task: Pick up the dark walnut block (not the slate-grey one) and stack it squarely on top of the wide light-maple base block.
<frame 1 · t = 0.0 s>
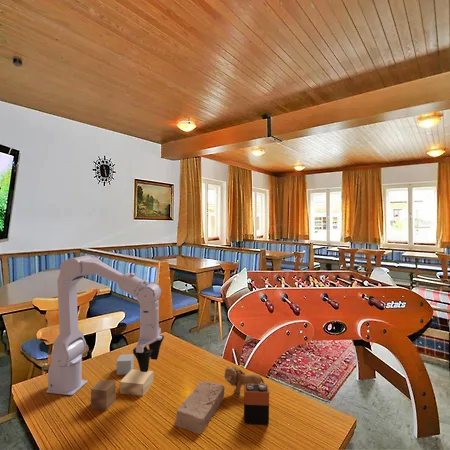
hand: (149, 364, 91), 10 cm above the table, fingers open, 7 cm apart
battery: (256, 420, 81), on the table
walnut block: (103, 404, 87), on the table
brick: (201, 412, 84), on the table
lion figurine: (245, 395, 92), on the table
slate block: (125, 370, 106), on the table
base block: (137, 388, 96), on the table
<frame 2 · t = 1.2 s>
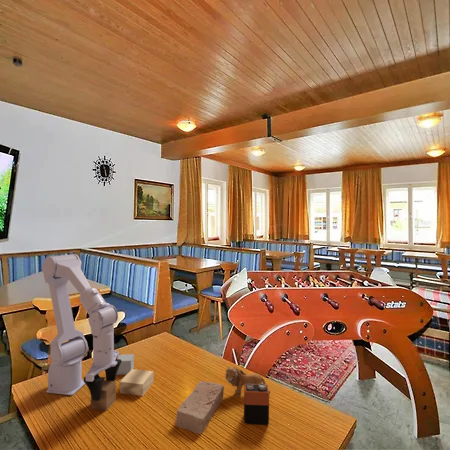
hand: (103, 391, 87), 4 cm above the table, fingers open, 7 cm apart
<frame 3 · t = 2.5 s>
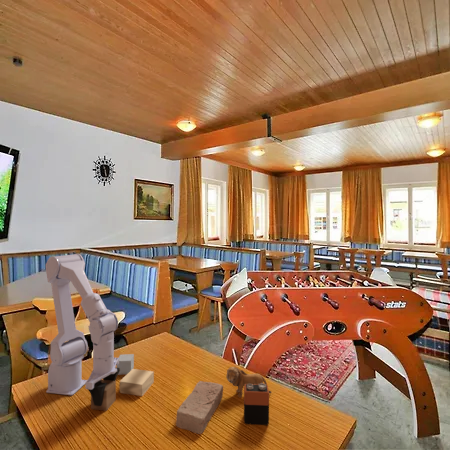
hand: (103, 399, 87), 2 cm above the table, fingers closed on walnut block, 5 cm apart
walnut block: (103, 404, 87), on the table, touching gripper
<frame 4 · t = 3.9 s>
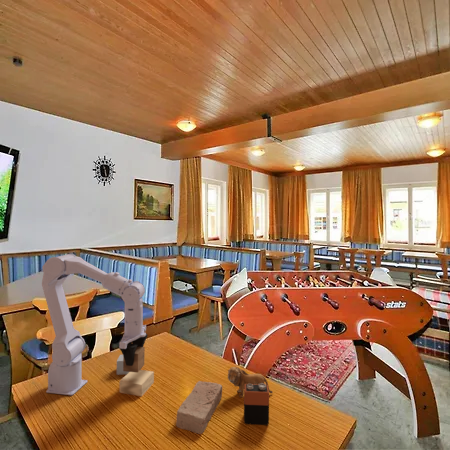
hand: (133, 360, 94), 9 cm above the table, fingers closed on walnut block, 5 cm apart
walnut block: (134, 367, 94), point 7 cm above the table, touching gripper
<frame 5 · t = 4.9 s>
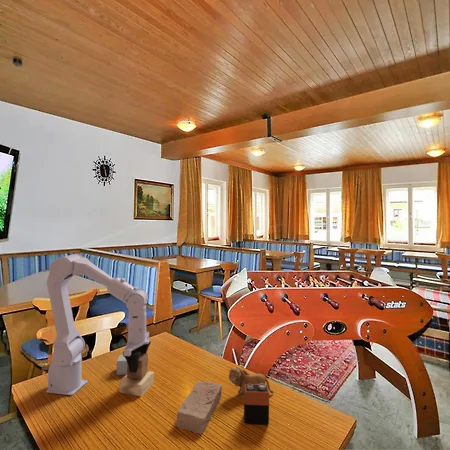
hand: (137, 367, 96), 7 cm above the table, fingers closed on walnut block, 5 cm apart
walnut block: (137, 374, 96), point 4 cm above the table, touching gripper
when the fingers open (7 cm above the table, at t = 5.4 s): walnut block stays where it is, point 4 cm above the table.
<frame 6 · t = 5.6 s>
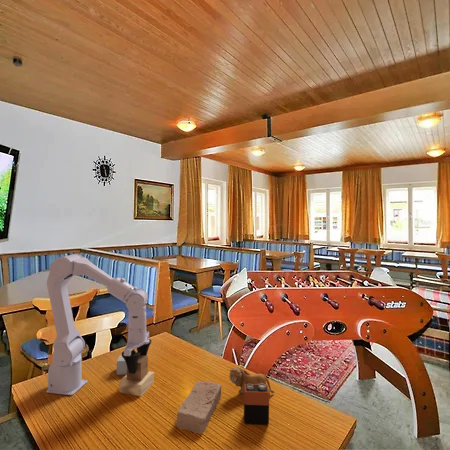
hand: (137, 367, 96), 7 cm above the table, fingers open, 6 cm apart
walnut block: (137, 376, 96), point 4 cm above the table
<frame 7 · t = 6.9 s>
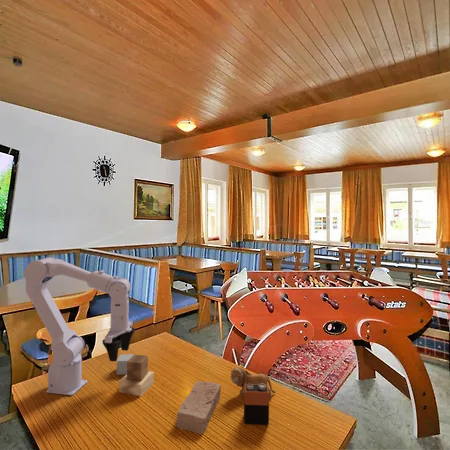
hand: (119, 355, 97), 10 cm above the table, fingers open, 7 cm apart
walnut block: (137, 376, 96), point 4 cm above the table, touching base block
base block: (137, 388, 96), on the table, touching walnut block
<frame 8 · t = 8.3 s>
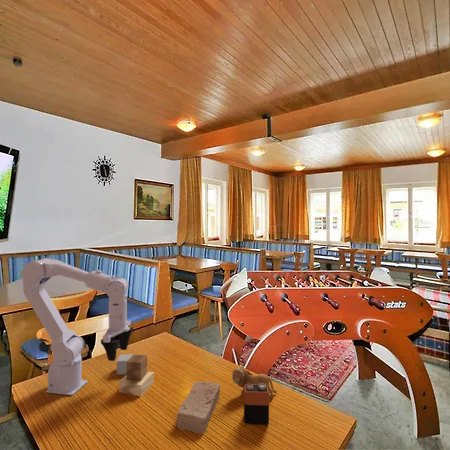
hand: (117, 354, 97), 10 cm above the table, fingers open, 7 cm apart
walnut block: (137, 376, 96), point 4 cm above the table
base block: (137, 388, 96), on the table
at the end: walnut block 0.4 cm off-centre on the base block, point 4.0 cm above the base block's base; walnut block tilted 0°; the gripper is holding nothing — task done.
